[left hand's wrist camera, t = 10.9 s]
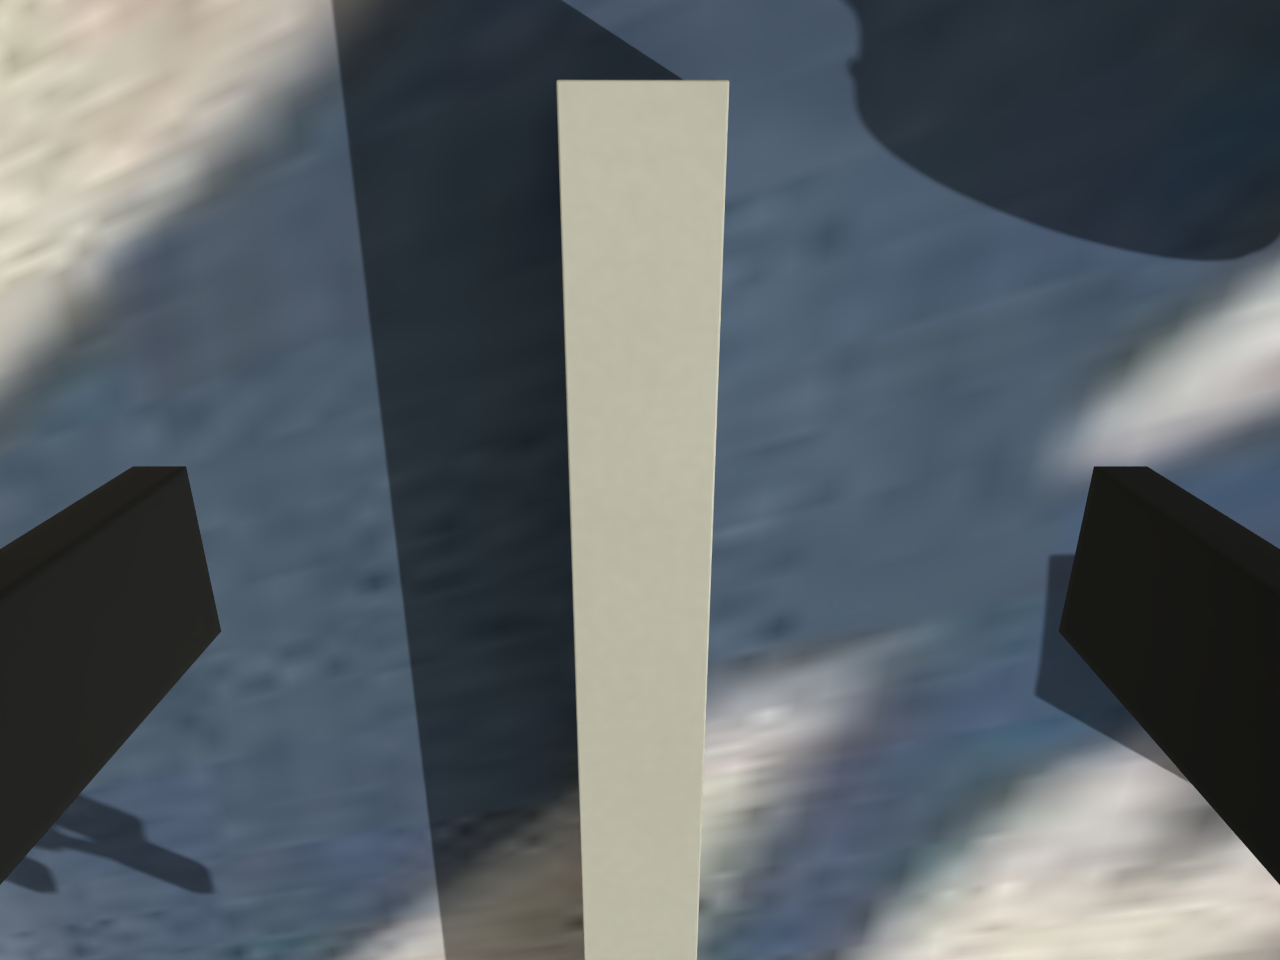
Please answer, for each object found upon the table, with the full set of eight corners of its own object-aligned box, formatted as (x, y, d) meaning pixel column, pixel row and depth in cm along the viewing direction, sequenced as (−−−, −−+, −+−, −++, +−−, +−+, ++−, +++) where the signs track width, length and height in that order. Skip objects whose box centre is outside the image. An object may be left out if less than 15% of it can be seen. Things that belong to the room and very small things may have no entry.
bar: (574, 95, 31) (555, 79, 24) (709, 95, 31) (729, 79, 24) (601, 1165, 54) (595, 1315, 47) (677, 1165, 54) (683, 1315, 47)
